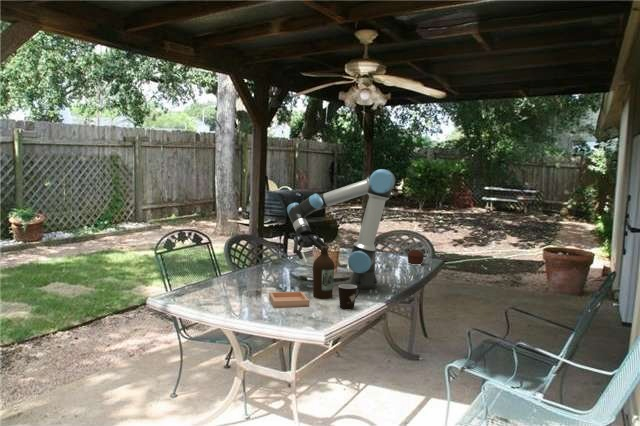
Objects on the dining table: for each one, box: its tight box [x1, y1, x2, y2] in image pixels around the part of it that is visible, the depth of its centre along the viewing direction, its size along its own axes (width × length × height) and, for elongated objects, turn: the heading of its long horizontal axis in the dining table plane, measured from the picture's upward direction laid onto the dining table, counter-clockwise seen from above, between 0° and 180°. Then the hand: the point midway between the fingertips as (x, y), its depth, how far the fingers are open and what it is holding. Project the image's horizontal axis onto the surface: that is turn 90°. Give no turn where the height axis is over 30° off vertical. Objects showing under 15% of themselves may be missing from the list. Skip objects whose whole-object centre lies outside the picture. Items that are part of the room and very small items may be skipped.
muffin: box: [407, 249, 425, 264], centre depth 341 cm, size 12×11×10 cm
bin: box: [268, 291, 310, 309], centre depth 236 cm, size 16×16×3 cm
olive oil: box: [312, 246, 335, 300], centre depth 247 cm, size 11×11×25 cm
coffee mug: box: [337, 283, 361, 310], centre depth 230 cm, size 12×9×10 cm
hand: (317, 262), depth 250 cm, fingers open, 13 cm apart
